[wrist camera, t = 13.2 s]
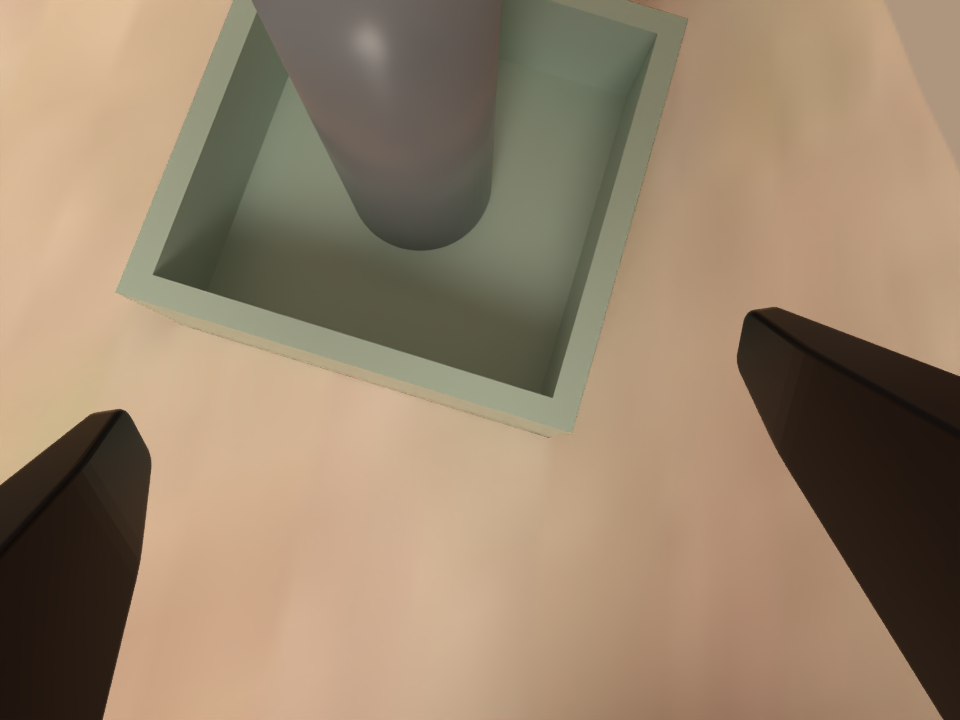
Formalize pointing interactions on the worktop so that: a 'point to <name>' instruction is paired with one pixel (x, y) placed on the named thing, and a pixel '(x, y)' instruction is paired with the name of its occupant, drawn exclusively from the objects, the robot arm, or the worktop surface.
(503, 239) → the sage bin
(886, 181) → the worktop surface
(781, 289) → the worktop surface
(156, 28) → the worktop surface
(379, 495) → the worktop surface
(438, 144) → the ball
